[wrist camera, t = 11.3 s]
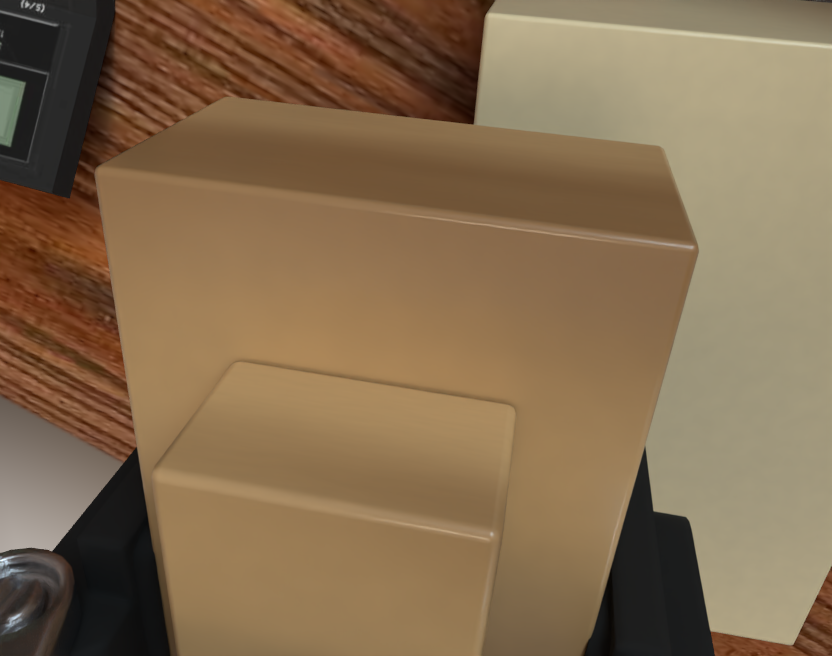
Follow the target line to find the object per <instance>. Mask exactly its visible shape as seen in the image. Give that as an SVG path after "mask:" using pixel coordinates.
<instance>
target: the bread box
mask: <svg viewBox="0 0 832 656" xmlns="http://www.w3.org/2000/svg"><path fill="white" fill-rule="evenodd" d="M474 125H480V126H489V127H498V128H507V129H515V130H524V131H533V132H542V133H550V134H559V135H568V136H577V137H586V138H594V139H603V140H612V141H621V142H629V143H638V144H647V145H656V146H660V147H662V148H664V151H665V153H666V156H667V159H668V162H669V165H670V167H671V170H672V173H673V176H674V179H675V181H676V184H677V187H678V190H679V193H680V195H681V198H682V201H683V204H684V207H685V209H686V212H687V215H688V218H689V221H690V223H691V226H692V229H693V232H694V235H695V237H696V240H697V243H698V247H699V254H698V257H697V261H696V264H695V268H694V272H693V275H692V279H691V282H690V286H689V290H688V293H687V297H686V300H685V304H684V308H683V311H682V315H681V318H680V322H679V326H678V329H677V333H676V336H675V340H674V344H673V347H672V351H671V354H670V358H669V362H668V365H667V369H666V372H665V376H664V379H663V383H662V387H661V390H660V394H659V397H658V401H657V405H656V408H655V412H654V415H653V419H652V423H651V426H650V430H649V433H648V437H647V441H646V444H645V447H646V455H647V463H648V471H649V479H650V487H651V495H652V503H653V511H655V512H661V513H667V514H672V515H678V516H684V517H686V518H687V519H688V520H689V522H690V525H691V529H692V534H693V539H694V545H695V550H696V556H697V561H698V567H699V572H700V578H701V583H702V589H703V594H704V599H705V605H706V610H707V616H708V621H709V627H710V631H713V632H719V633H724V634H730V635H735V636H741V637H746V638H752V639H758V640H763V641H769V642H774V643H780V644H786V645H793V644H794V642H795V640H796V638H797V636H798V634H799V632H800V630H801V628H802V625H803V623H804V621H805V619H806V617H807V615H808V613H809V611H810V609H811V607H812V605H813V603H814V601H815V599H816V597H817V595H818V593H819V590H820V588H821V586H822V584H823V582H824V580H825V578H826V576H827V574H828V572H829V570H830V568H831V566H832V0H495V2H494V3H493V5H492V6H491V8H490V9H489V11H488V12H487V14H486V16H485V19H484V29H483V39H482V48H481V58H480V68H479V77H478V87H477V97H476V106H475V116H474Z"/></svg>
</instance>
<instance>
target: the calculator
mask: <svg viewBox="0 0 832 656" xmlns="http://www.w3.org/2000/svg"><path fill="white" fill-rule="evenodd" d="M114 14H115V0H0V180H2V181H6V182H10V183H14V184H17V185H21V186H25V187H29V188H32V189H36V190H40V191H43V192H47V193H51V194H55V195H58V196H62V197H66V198H70V194H71V190H72V186H73V182H74V178H75V174H76V170H77V166H78V162H79V157H80V153H81V149H82V145H83V141H84V137H85V133H86V129H87V125H88V121H89V117H90V112H91V108H92V104H93V100H94V96H95V92H96V88H97V84H98V80H99V76H100V71H101V67H102V63H103V59H104V55H105V51H106V47H107V43H108V39H109V35H110V31H111V26H112V22H113V18H114Z"/></svg>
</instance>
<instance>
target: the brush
mask: <svg viewBox="0 0 832 656" xmlns="http://www.w3.org/2000/svg"><path fill="white" fill-rule="evenodd" d="M95 180H96V187H97V193H98V200H99V206H100V212H101V219H102V225H103V232H104V238H105V245H106V251H107V257H108V264H109V270H110V277H111V283H112V290H113V296H114V302H115V309H116V315H117V322H118V328H119V334H120V341H121V347H122V354H123V360H124V367H125V373H126V379H127V386H128V392H129V399H130V405H131V411H132V418H133V424H134V431H135V437H136V444H137V450H138V456H139V463H140V469H141V476H142V482H143V489H144V495H145V501H146V508H147V514H148V521H149V527H150V533H151V540H152V546H153V552H154V553H155V560H156V566H157V573H158V579H159V586H160V592H161V599H162V605H163V611H164V618H165V624H166V631H167V637H168V644H169V650H170V656H584V655H585V651H586V647H587V644H588V640H589V639H590V638H591V636H592V633H593V631H594V628H595V624H596V620H597V617H598V613H599V610H600V606H601V602H602V599H603V595H604V592H605V588H606V584H607V581H608V577H609V574H610V570H611V566H612V563H613V559H614V556H615V552H616V548H617V545H618V541H619V538H620V534H621V530H622V527H623V523H624V520H625V516H626V512H627V509H628V505H629V502H630V498H631V495H632V491H633V487H634V484H635V480H636V477H637V473H638V469H639V466H640V462H641V459H642V455H643V451H644V448H645V444H646V441H647V437H648V433H649V430H650V426H651V423H652V419H653V415H654V412H655V408H656V405H657V401H658V397H659V394H660V390H661V387H662V383H663V379H664V376H665V372H666V369H667V365H668V362H669V358H670V354H671V351H672V347H673V344H674V340H675V336H676V333H677V329H678V326H679V322H680V318H681V315H682V311H683V308H684V304H685V300H686V297H687V293H688V290H689V286H690V282H691V279H692V275H693V272H694V268H695V264H696V261H697V257H698V254H699V247H698V243H697V240H696V237H695V235H694V232H693V229H692V226H691V223H690V221H689V218H688V215H687V212H686V209H685V207H684V204H683V201H682V198H681V195H680V193H679V190H678V187H677V184H676V181H675V179H674V176H673V173H672V170H671V167H670V165H669V162H668V159H667V156H666V153H665V151H664V148H662V147H660V146H656V145H647V144H638V143H629V142H621V141H612V140H603V139H594V138H586V137H577V136H568V135H559V134H550V133H542V132H533V131H524V130H515V129H507V128H498V127H489V126H480V125H472V124H463V123H454V122H445V121H436V120H428V119H419V118H410V117H401V116H393V115H384V114H375V113H366V112H358V111H349V110H340V109H331V108H322V107H314V106H305V105H296V104H287V103H279V102H270V101H261V100H252V99H244V98H235V97H224V98H222V99H220V100H218V101H216V102H214V103H212V104H211V105H209V106H207V107H205V108H203V109H201V110H200V111H198V112H196V113H194V114H192V115H190V116H189V117H187V118H185V119H183V120H181V121H179V122H178V123H176V124H174V125H172V126H170V127H168V128H167V129H165V130H163V131H161V132H159V133H157V134H156V135H154V136H152V137H150V138H148V139H146V140H145V141H143V142H141V143H139V144H137V145H135V146H134V147H132V148H130V149H128V150H126V151H124V152H123V153H121V154H119V155H117V156H115V157H113V158H111V159H110V160H108V161H106V162H104V163H102V164H100V165H99V166H97V168H96V170H95Z"/></svg>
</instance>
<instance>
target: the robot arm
mask: <svg viewBox="0 0 832 656" xmlns="http://www.w3.org/2000/svg"><path fill="white" fill-rule="evenodd" d="M0 656H170V650H169V644H168V637H167V631H166V624H165V618H164V611H163V605H162V599H161V592H160V586H159V579H158V573H157V566H156V560H155V553H154V552H153V546H152V540H151V533H150V527H149V521H148V514H147V508H146V501H145V495H144V489H143V482H142V476H141V469H140V463H139V456H138V450H137V447H136V449H135V450H134V451H133V452H132V454H131V455H130V456H129V457H128V459H127V460H126V461H125V462H124V463H123V465H122V466H121V467H120V468H119V470H118V471H117V472H116V473H115V475H114V476H113V477H112V478H111V480H110V481H109V482H108V483H107V485H106V486H105V487H104V488H103V490H102V491H101V492H100V493H99V494H98V496H97V497H96V498H95V499H94V500H93V502H92V503H91V504H90V505H89V507H88V508H87V509H86V510H85V512H84V513H83V514H82V515H81V517H80V518H79V519H78V520H77V522H76V523H75V524H74V525H73V526H72V528H71V529H70V530H69V532H68V533H67V534H66V535H65V536H64V538H63V539H62V540H61V541H60V543H59V544H58V545H57V546H56V547H55V549H54V550H53V551H49V550H44V549H36V548H26V549H15V550H9V551H6V552H3V553H0ZM584 656H715V654H714V649H713V643H712V638H711V632H710V627H709V621H708V616H707V610H706V605H705V599H704V594H703V589H702V583H701V578H700V572H699V567H698V561H697V556H696V550H695V545H694V539H693V534H692V529H691V525H690V522H689V520H688V519H687V518H686V517H684V516H678V515H672V514H667V513H661V512H655V511H653V503H652V495H651V487H650V479H649V471H648V463H647V455H646V447H645V448H644V451H643V455H642V459H641V462H640V466H639V469H638V473H637V477H636V480H635V484H634V487H633V491H632V495H631V498H630V502H629V505H628V509H627V512H626V516H625V520H624V523H623V527H622V530H621V534H620V538H619V541H618V545H617V548H616V552H615V556H614V559H613V563H612V566H611V570H610V574H609V577H608V581H607V584H606V588H605V592H604V595H603V599H602V602H601V606H600V610H599V613H598V617H597V620H596V624H595V628H594V631H593V633H592V636H591V638H590V639H589V640H588V644H587V647H586V651H585V655H584Z"/></svg>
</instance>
